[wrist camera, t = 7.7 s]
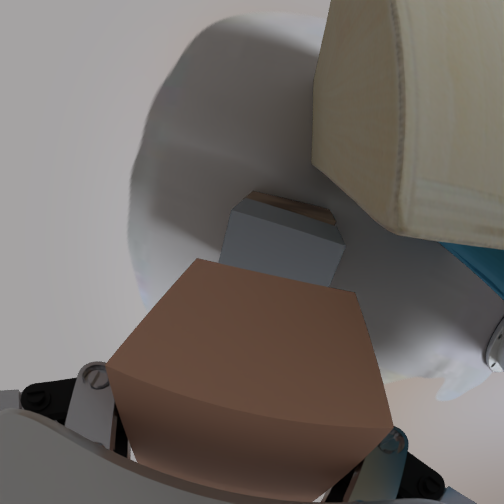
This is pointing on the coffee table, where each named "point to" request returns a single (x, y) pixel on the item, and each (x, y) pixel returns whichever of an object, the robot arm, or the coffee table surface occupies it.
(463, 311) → the coffee table surface
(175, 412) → the terracotta cube
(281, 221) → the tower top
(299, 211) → the tower bottom
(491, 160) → the cream box
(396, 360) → the coffee table surface
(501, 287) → the block
